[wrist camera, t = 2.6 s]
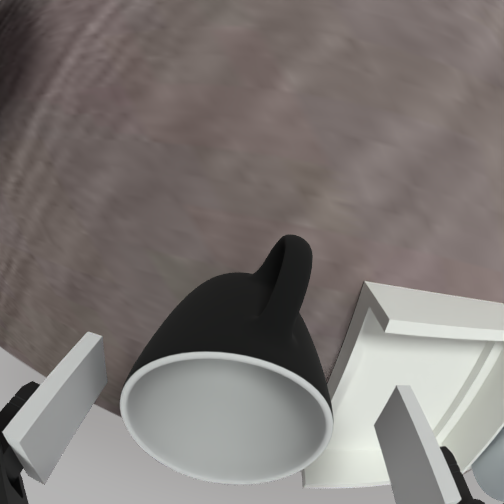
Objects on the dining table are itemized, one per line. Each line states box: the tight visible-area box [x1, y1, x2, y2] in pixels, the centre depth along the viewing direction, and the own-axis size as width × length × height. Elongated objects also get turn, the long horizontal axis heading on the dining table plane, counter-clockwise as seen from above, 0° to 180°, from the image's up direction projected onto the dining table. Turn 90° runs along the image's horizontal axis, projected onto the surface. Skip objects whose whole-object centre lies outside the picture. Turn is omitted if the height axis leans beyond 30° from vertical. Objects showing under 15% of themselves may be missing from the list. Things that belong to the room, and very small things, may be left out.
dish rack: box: [302, 281, 504, 488], centre depth 20 cm, size 22×17×6 cm
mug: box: [120, 235, 334, 485], centre depth 16 cm, size 12×9×10 cm
